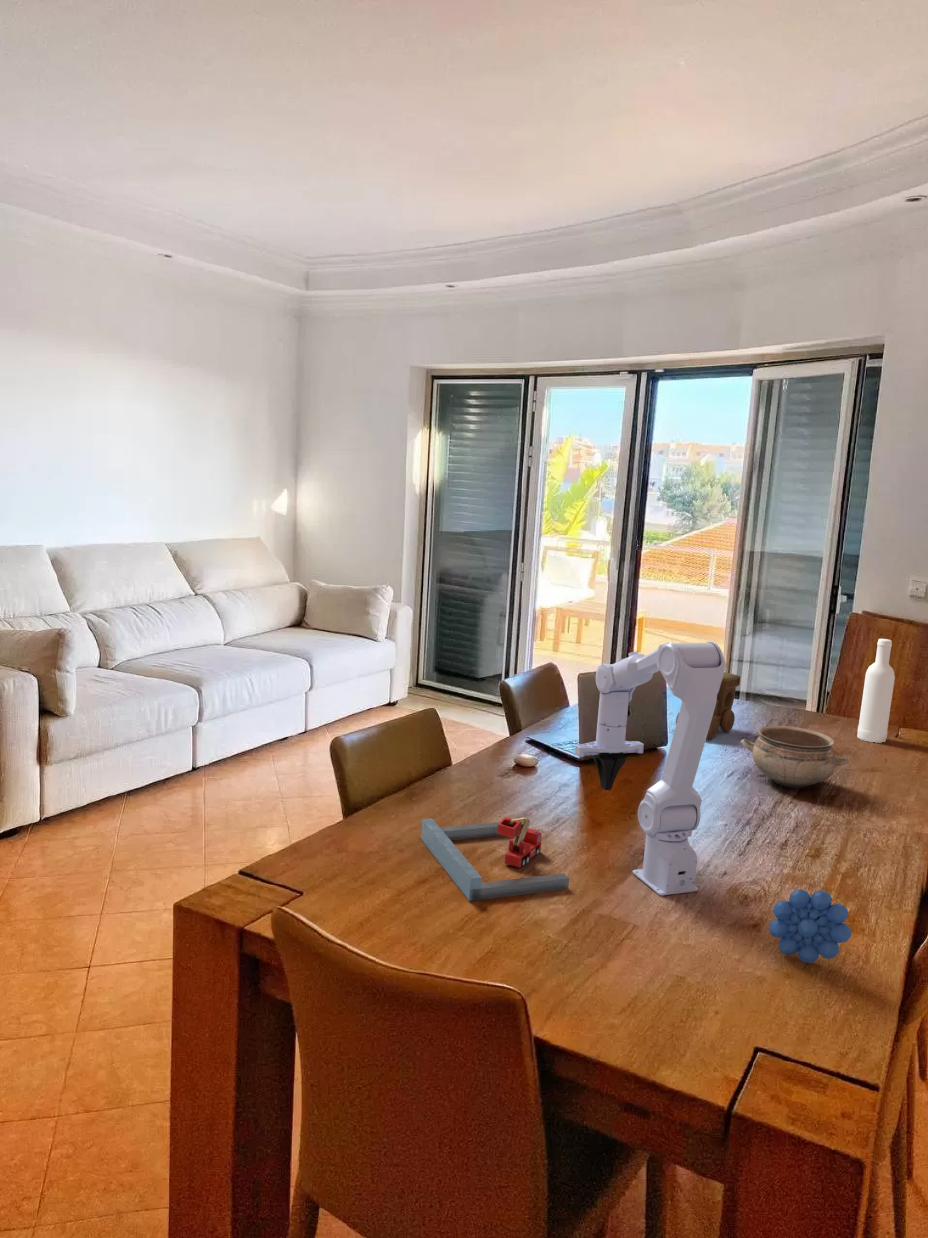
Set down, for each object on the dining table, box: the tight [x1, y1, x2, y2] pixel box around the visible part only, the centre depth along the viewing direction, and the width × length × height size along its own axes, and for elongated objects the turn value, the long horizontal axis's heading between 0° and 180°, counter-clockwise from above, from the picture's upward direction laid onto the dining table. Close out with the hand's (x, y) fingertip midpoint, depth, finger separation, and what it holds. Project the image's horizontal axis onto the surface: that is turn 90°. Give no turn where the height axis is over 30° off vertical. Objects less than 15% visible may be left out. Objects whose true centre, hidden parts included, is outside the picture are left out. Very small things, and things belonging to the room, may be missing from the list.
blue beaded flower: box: [768, 888, 852, 964], centre depth 136 cm, size 12×7×12 cm, turn 56°
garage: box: [420, 817, 570, 902], centre depth 164 cm, size 26×18×4 cm
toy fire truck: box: [497, 816, 542, 868], centre depth 165 cm, size 3×14×10 cm, turn 151°
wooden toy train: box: [675, 671, 741, 740], centre depth 260 cm, size 20×11×17 cm, turn 140°
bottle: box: [856, 638, 896, 744], centre depth 262 cm, size 8×8×30 cm
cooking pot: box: [740, 725, 850, 789], centre depth 218 cm, size 25×19×12 cm
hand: (605, 788), depth 180 cm, fingers closed
